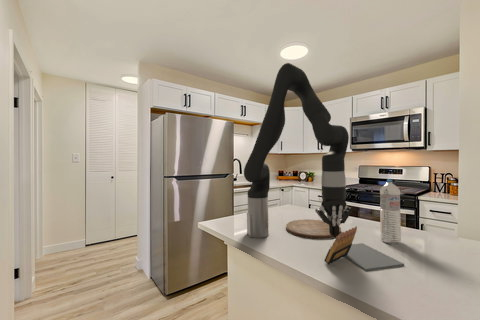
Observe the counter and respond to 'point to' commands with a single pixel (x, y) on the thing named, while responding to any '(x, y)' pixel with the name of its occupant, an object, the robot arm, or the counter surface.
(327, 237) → the trivet
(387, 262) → the slate mat
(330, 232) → the robot arm
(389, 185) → the water bottle
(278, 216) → the counter surface
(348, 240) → the ammunition clip
